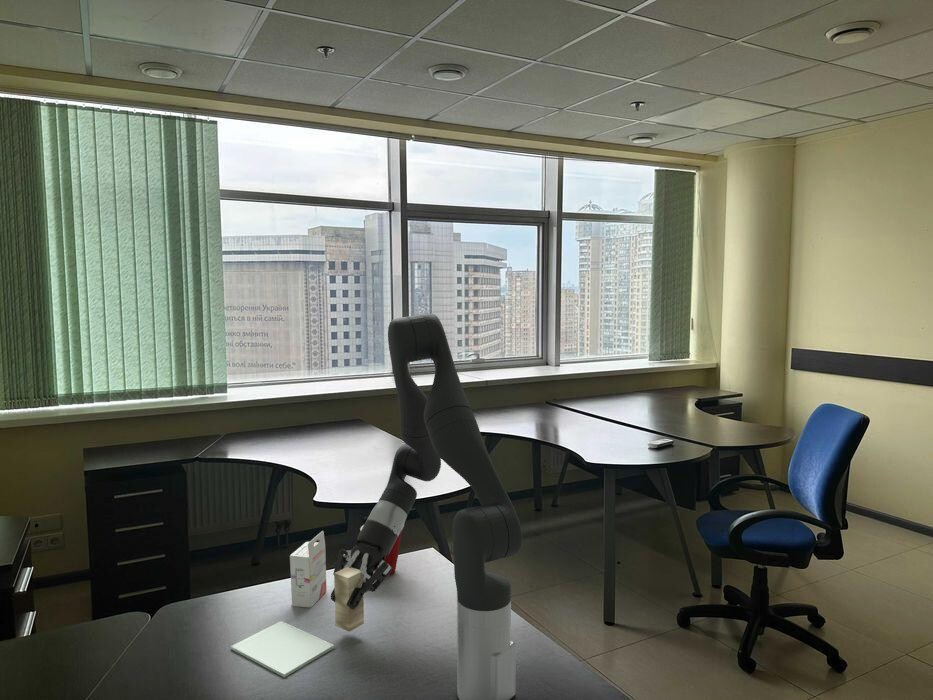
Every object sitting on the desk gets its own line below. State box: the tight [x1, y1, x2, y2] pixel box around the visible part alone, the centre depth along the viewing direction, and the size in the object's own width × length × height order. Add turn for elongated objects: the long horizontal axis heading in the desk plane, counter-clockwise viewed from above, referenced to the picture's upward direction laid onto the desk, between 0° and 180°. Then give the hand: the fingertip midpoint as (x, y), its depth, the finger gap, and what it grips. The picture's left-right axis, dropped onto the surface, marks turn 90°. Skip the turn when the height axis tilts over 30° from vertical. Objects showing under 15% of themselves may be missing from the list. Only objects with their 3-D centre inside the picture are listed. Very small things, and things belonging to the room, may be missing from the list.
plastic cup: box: [359, 524, 405, 577], centre depth 161 cm, size 11×11×12 cm
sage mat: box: [230, 620, 335, 678], centre depth 127 cm, size 16×12×1 cm
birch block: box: [333, 567, 365, 633], centre depth 131 cm, size 4×4×11 cm
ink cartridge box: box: [289, 530, 327, 608], centre depth 147 cm, size 9×5×15 cm, turn 168°
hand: (342, 604), depth 129 cm, fingers closed on birch block, 4 cm apart
